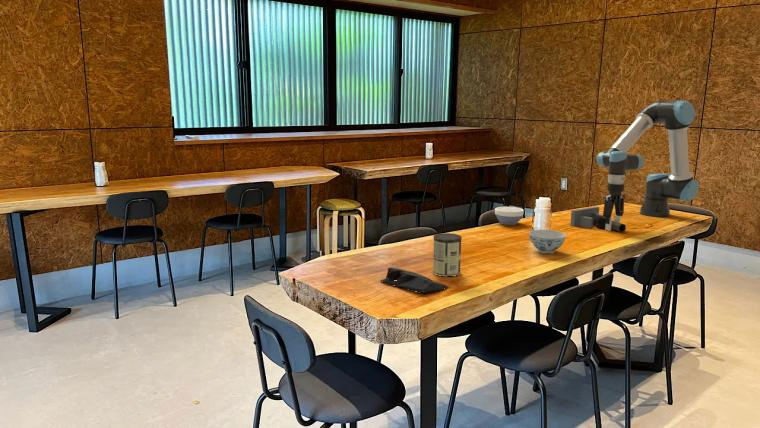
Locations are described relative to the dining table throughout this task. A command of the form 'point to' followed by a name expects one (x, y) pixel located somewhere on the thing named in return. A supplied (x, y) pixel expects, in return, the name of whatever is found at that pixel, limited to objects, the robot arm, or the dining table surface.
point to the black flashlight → (616, 226)
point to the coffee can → (447, 254)
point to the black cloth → (412, 281)
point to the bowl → (509, 215)
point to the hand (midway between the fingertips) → (612, 229)
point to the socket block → (584, 216)
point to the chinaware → (547, 240)
